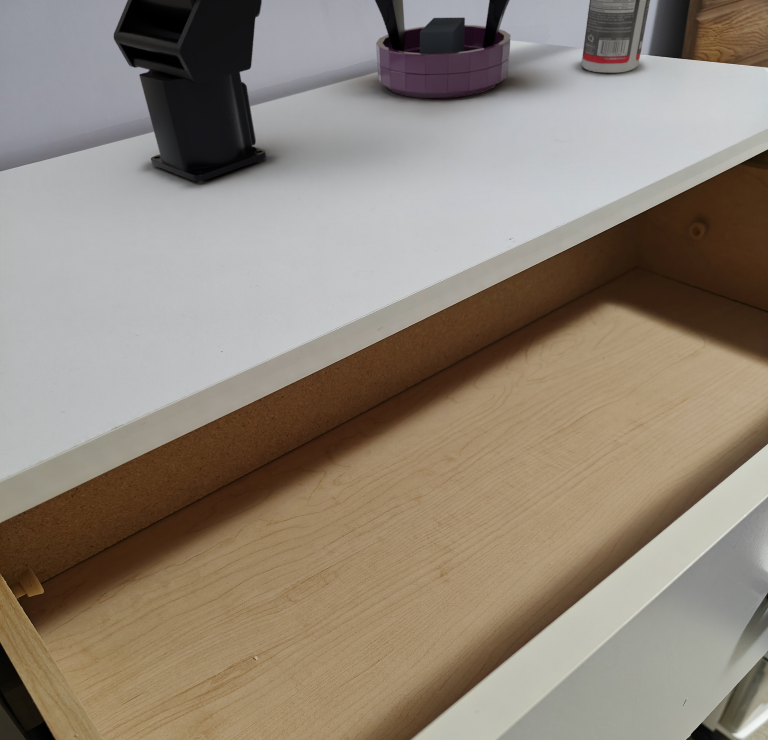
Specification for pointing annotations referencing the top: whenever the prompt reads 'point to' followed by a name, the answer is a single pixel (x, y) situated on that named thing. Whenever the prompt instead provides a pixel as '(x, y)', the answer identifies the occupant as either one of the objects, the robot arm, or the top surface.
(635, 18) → the pill bottle
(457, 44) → the eraser
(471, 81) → the bowl
